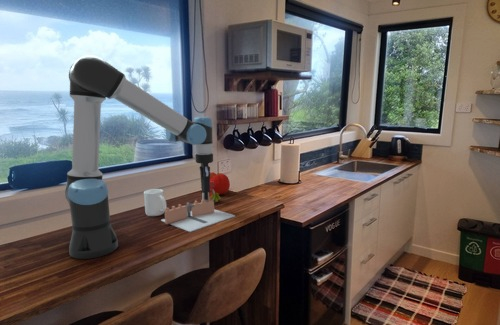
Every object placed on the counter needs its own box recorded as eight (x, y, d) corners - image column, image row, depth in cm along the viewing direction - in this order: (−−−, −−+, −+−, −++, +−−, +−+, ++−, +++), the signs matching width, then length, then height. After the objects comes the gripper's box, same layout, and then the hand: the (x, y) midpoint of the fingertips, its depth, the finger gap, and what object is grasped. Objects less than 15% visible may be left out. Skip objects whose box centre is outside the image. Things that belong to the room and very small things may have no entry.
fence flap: (192, 216, 148) (191, 202, 147) (190, 215, 150) (190, 201, 149) (214, 212, 153) (214, 198, 152) (213, 211, 155) (212, 197, 154)
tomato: (234, 194, 184) (233, 173, 182) (210, 199, 177) (209, 176, 175) (222, 189, 195) (222, 169, 193) (199, 193, 188) (198, 172, 186)
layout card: (187, 232, 131) (187, 231, 131) (158, 221, 145) (158, 220, 145) (235, 216, 149) (235, 215, 149) (205, 207, 163) (205, 206, 163)
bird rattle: (214, 209, 167) (223, 197, 174) (207, 190, 162) (217, 179, 168) (204, 207, 171) (213, 196, 177) (197, 189, 165) (207, 178, 172)
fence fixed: (167, 225, 140) (166, 208, 139) (165, 224, 141) (164, 208, 140) (191, 217, 149) (190, 202, 148) (189, 217, 150) (188, 201, 149)
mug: (173, 214, 154) (172, 191, 153) (158, 219, 148) (156, 195, 146) (156, 209, 162) (155, 188, 160) (141, 214, 155) (139, 191, 154)
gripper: (215, 154, 144) (217, 209, 149) (210, 150, 157) (211, 201, 161) (197, 155, 142) (199, 211, 147) (193, 151, 154) (195, 203, 159)
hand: (206, 206), depth 154 cm, fingers closed
